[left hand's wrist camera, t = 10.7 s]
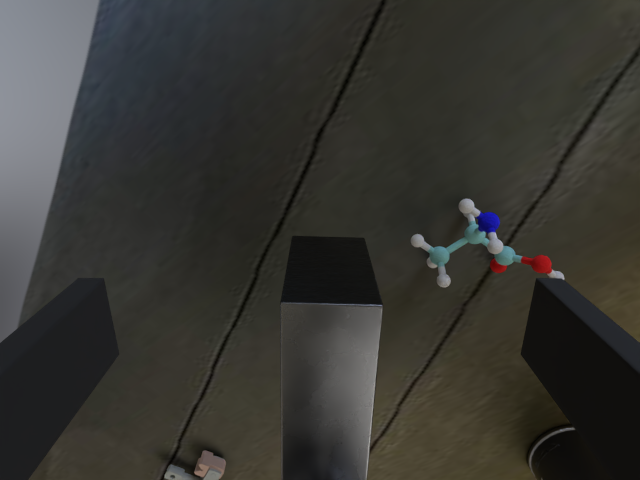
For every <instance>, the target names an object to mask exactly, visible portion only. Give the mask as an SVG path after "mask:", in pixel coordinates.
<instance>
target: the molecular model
mask: <svg viewBox="0 0 640 480" xmlns="http://www.w3.org/2000/svg"><path fill="white" fill-rule="evenodd" d="M459 209H460V211H461V212H463V214H464V216H465V217H467V218H468V222H469V227H467V229H466V230H465V237H463V238H462V239H460V240H458V241H457V242H455V243H454V244H452V245H450V246H449V247H447V248H444V247H441V246H438V247H435V248H433V247H432V246H430V245H429V244H427V243H426V242H424V238H423V237H422V236H421V235H419V234H416V235H413V236H412V238H411V244H412V245H413V246H414V247H421V248H423V249H424V250H426V251H427V252H429V253H430V255H429V256H430V257H429V258H428V259H427V265H428V266H429V267H430V268H436V267H437V266H438V271H439V276H438V278H437V283H438V285H439V286H441V287H447V286H449V285H450V283H451V279H450V277H449V276H448V275H446V271H445V266H444V264H446V263H447V262H448V260H449V257H450V256H449V254H450V253H451V252H453V251H455V250H456V249H458V248H460V247H461V246H463V245H465V244H466V243H468V242H469V243H471V244H478V243H482V244H483V245H485V246H486V247H487V249H488V251H489V252H490V253H492V254H495V255H494V257H495V258H494V259H492V261H491V262H490V268H491V269H492V271H494V272H496V273H502V272H504V271H505V270H506V268H507V265H509V264H512V263H513V262H514V261H515V262H520V263H524V264H528V265H531V266H532V268H533V270H534V271H536V272H539V273H546V274H547V275H548V276H549V278H562V279H563V280H564V275H563V274H562V273H561V272H559V271H554V270H552V269H551V261H550V259H549V258H548V257H547V256H544V255H538V256H536V257H534V258H533V259H532V258H528V257H523V256H519V255H515V252H514V250H513V249H512V248H511V247H508V246H503V243H502V242H501V241H500V240H498V239H497V236H496V232H495V230H496V229H497V228H498V227H499V223H500V221H499V218H498V216H497V215H496V214H494V213H492V212H487V213H484V214H483V213H482V212H480V211H479V210H478V209H476V208H475V207H474V203H473V201H472V200H470V199H463V200H462V201H460V203H459ZM474 217H476V218H477V219H478V225H477V224H476V222H475V218H474ZM485 232H487V233H488V237H489V240H488V239H487V238H485Z"/></svg>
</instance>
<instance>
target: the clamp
mask: <svg viewBox="0 0 640 480" xmlns="http://www.w3.org/2000/svg"><path fill="white" fill-rule="evenodd" d="M225 466H226V462H225V460H224V459H222V458H220V457H218V456H213V453H212V452H209V451H206V450H205V451H203V452H202V455H201V458H199V459H198V462H197V465H196V468H195V471H194V473H195V474H196V475H198V476H201V477H200V478H199V477H196V476H193V475H191V474H188V473H185V472H184V471H185V469H183V468H180V467H177V466H174V465H172V464H171V465H169V467H168V469H167V471H166V474H165V478H166V479H169V480H218V479H220V478H221V476H222V475H223V473H224V470H225Z"/></svg>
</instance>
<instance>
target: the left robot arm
mask: <svg viewBox="0 0 640 480" xmlns="http://www.w3.org/2000/svg"><path fill="white" fill-rule="evenodd" d="M118 355H119V350H118V345H117V341H116V336H115V331H114V326H113V321H112V316H111V311H110V307H109V302H108V297H107V292H106V287H105V282H104V278H78V279H77V280H76V281H74V282H73V283H72V284H71V285H70V286H68V287H67V288H66V289H65V290H64V291H62V292H61V293H60V294H59V295H58V296H56V297H55V298H54V299H53V300H52V301H50V302H49V303H48V304H47V305H46V306H44V307H43V308H42V309H41V310H40V311H38V312H37V313H36V314H35V315H33V316H32V317H31V318H30V319H29V320H27V321H26V322H25V323H24V324H23V325H21V326H20V327H19V328H18V329H17V330H15V331H14V332H13V333H12V334H11V335H9V336H8V337H7V338H6V339H5V340H3V341H2V342H1V343H0V480H28V479H29V478H30V476H31V475H32V474H33V472H34V471H35V469H36V468H37V467H38V465H39V464H40V463H41V461H42V460H43V458H44V457H45V456H46V454H47V453H48V452H49V450H50V449H51V447H52V446H53V445H54V443H55V442H56V441H57V439H58V438H59V436H60V435H61V434H62V432H63V431H64V430H65V428H66V427H67V425H68V424H69V423H70V421H71V420H72V419H73V417H74V416H75V414H76V413H77V412H78V410H79V409H80V408H81V406H82V405H83V403H84V402H85V401H86V399H87V398H88V397H89V395H90V394H91V392H92V391H93V390H94V388H95V387H96V386H97V384H98V383H99V381H100V380H101V379H102V377H103V376H104V374H105V373H106V372H107V370H108V369H109V368H110V366H111V365H112V363H113V362H114V361H115V359H116V358H117V357H118ZM521 355H522V357H523V358H524V359H525V361H526V362H527V363H528V365H529V366H530V368H531V369H532V370H533V372H534V373H535V374H536V376H537V377H538V379H539V380H540V381H541V383H542V384H543V386H544V387H545V388H546V390H547V391H548V392H549V394H550V395H551V397H552V398H553V399H554V401H555V402H556V403H557V405H558V406H559V408H560V409H561V410H562V412H563V413H564V414H565V416H566V417H567V419H568V420H569V421H570V423H571V424H572V425H573V427H574V428H575V430H576V431H577V432H578V434H579V435H580V436H581V438H582V439H583V441H584V442H585V443H586V445H587V446H588V447H589V449H590V450H591V452H592V453H593V454H594V456H595V457H596V458H597V460H598V461H599V463H600V464H601V465H602V467H603V468H604V469H605V471H606V472H607V474H608V475H609V476H610V478H611V479H612V480H640V343H639V342H638V341H637V340H635V339H634V338H633V337H632V336H631V335H629V334H628V333H627V332H626V331H625V330H623V329H622V328H621V327H620V326H619V325H617V324H616V323H615V322H614V321H613V320H611V319H610V318H609V317H608V316H607V315H605V314H604V313H603V312H602V311H600V310H599V309H598V308H597V307H596V306H594V305H593V304H592V303H591V302H590V301H588V300H587V299H586V298H585V297H584V296H582V295H581V294H580V293H579V292H578V291H576V290H575V289H574V288H573V287H572V286H570V285H569V284H568V283H567V282H565V281H564V280H563V279H562V278H536V282H535V287H534V292H533V297H532V302H531V307H530V311H529V316H528V321H527V326H526V331H525V336H524V341H523V345H522V350H521Z"/></svg>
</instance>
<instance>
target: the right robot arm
mask: <svg viewBox="0 0 640 480" xmlns="http://www.w3.org/2000/svg"><path fill="white" fill-rule="evenodd" d="M527 461H528V466H529V468H530V470H531V472H532V473H533V475H534V476H535V477H536V479H537V480H612V479H611V478H610V476H609V475H608V474H607V472H606V471H605V469H604V468H603V467H602V465H601V464H600V463H599V461H598V460H597V458H596V457H595V456H594V454H593V453H592V452H591V450H590V449H589V447H588V446H587V445H586V443H585V442H584V441H583V439H582V438H581V436H580V435H579V434H578V432H577V431H576V430H575V428H574V427H573V425H566V426H561V427H557V428H554V429H552V430H550V431H548V432H546V433H544V434H543V435H542V436H540V437H539V438H538V439H537V440H536V441H535V442H534V443H533V445H532V446H531V448H530V450H529V452H528V457H527Z"/></svg>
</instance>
